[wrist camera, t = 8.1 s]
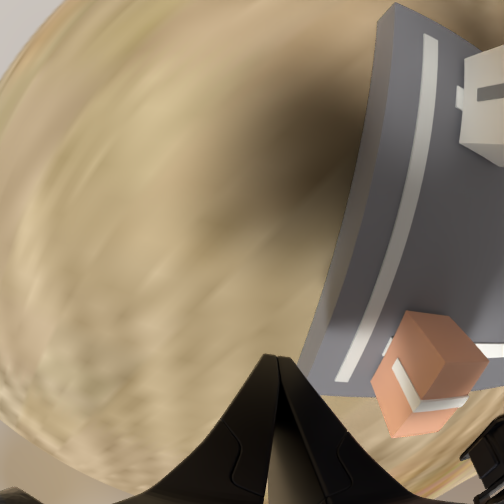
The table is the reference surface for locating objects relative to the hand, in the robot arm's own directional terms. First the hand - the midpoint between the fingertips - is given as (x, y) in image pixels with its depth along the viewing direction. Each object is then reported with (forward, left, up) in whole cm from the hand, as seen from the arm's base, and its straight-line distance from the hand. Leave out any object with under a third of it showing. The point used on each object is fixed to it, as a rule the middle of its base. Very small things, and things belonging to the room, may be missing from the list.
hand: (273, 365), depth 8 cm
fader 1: (-6, 0, -2) cm, 6 cm away
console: (-11, -5, -4) cm, 13 cm away
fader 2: (-6, -10, -2) cm, 12 cm away
